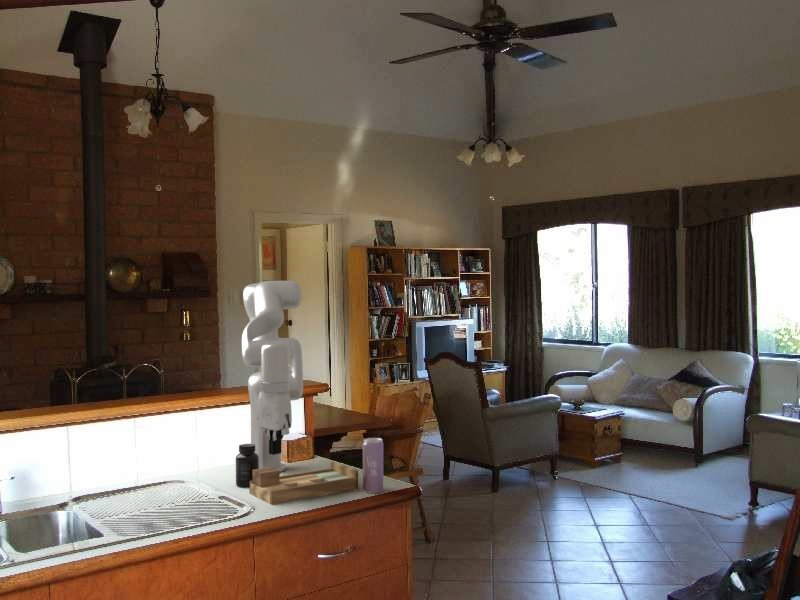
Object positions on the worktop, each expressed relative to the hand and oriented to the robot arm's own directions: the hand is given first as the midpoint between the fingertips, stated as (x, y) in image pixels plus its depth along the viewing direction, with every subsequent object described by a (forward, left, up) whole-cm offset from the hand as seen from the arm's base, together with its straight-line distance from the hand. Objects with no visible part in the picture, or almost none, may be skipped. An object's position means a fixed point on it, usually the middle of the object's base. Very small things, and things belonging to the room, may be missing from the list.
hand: (275, 453), depth 226 cm
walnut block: (-7, +1, -10) cm, 12 cm away
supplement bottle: (-20, +1, -13) cm, 24 cm away
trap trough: (-4, +11, -13) cm, 17 cm away
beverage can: (+7, +28, -13) cm, 32 cm away
